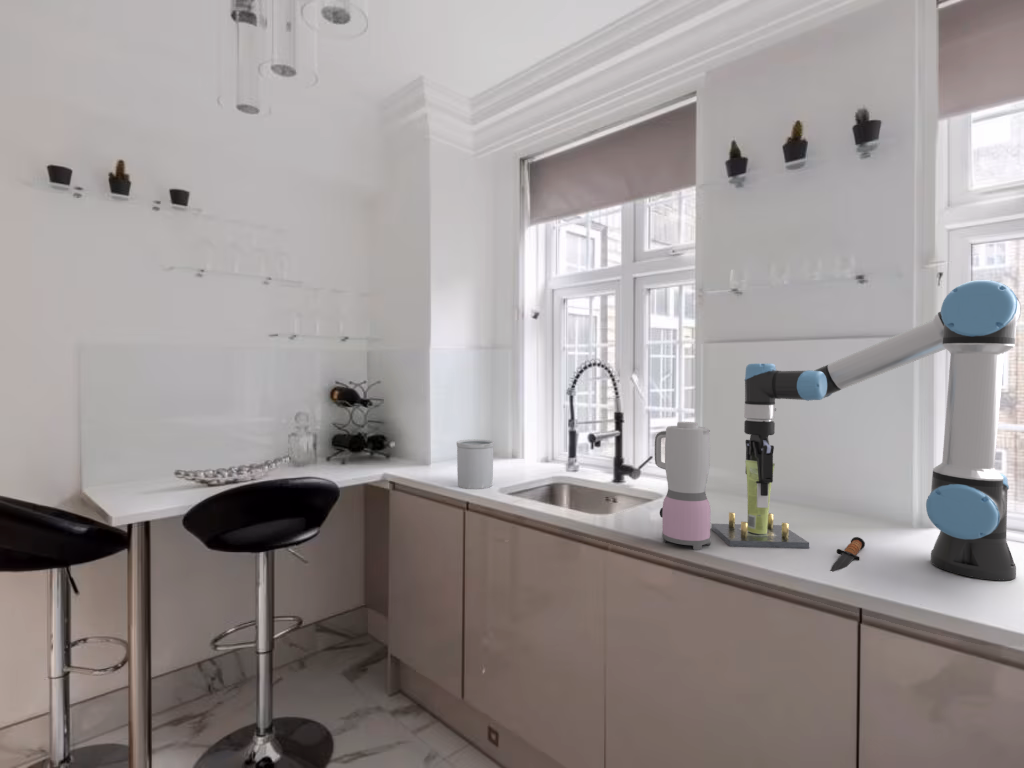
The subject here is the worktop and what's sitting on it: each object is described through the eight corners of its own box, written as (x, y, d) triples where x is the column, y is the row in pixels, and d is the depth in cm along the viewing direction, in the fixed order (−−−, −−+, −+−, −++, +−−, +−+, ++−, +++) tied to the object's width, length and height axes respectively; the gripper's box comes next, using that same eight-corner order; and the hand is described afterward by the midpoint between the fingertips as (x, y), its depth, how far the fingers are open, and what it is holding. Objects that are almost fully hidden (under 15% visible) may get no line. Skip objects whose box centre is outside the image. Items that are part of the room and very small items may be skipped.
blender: (719, 543, 144) (721, 422, 143) (697, 553, 135) (699, 425, 134) (665, 530, 155) (666, 418, 154) (642, 539, 146) (643, 421, 146)
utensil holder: (492, 489, 207) (493, 444, 207) (454, 489, 208) (454, 443, 207) (494, 482, 222) (495, 439, 222) (458, 481, 222) (458, 439, 222)
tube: (763, 529, 151) (765, 459, 151) (773, 535, 146) (774, 462, 146) (743, 529, 151) (745, 459, 150) (752, 535, 146) (754, 462, 145)
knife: (845, 573, 121) (821, 563, 124) (842, 585, 121) (818, 575, 125) (870, 540, 139) (848, 533, 142) (868, 551, 139) (846, 543, 143)
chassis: (809, 548, 140) (809, 527, 140) (729, 546, 141) (730, 525, 141) (782, 530, 156) (782, 511, 156) (711, 528, 157) (711, 509, 157)
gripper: (788, 423, 138) (787, 513, 139) (760, 417, 157) (759, 497, 157) (758, 422, 139) (757, 512, 139) (733, 417, 157) (732, 496, 158)
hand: (758, 504), depth 148 cm, fingers open, 5 cm apart
